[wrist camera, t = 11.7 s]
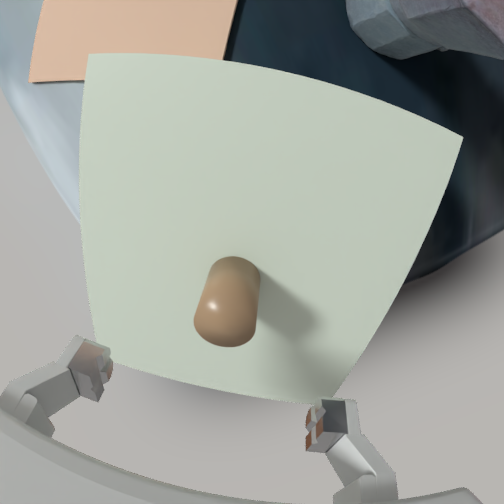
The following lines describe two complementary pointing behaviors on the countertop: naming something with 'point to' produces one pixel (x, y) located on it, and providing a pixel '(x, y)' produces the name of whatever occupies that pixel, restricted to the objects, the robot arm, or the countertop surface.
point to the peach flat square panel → (126, 32)
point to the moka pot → (429, 26)
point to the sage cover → (247, 219)
